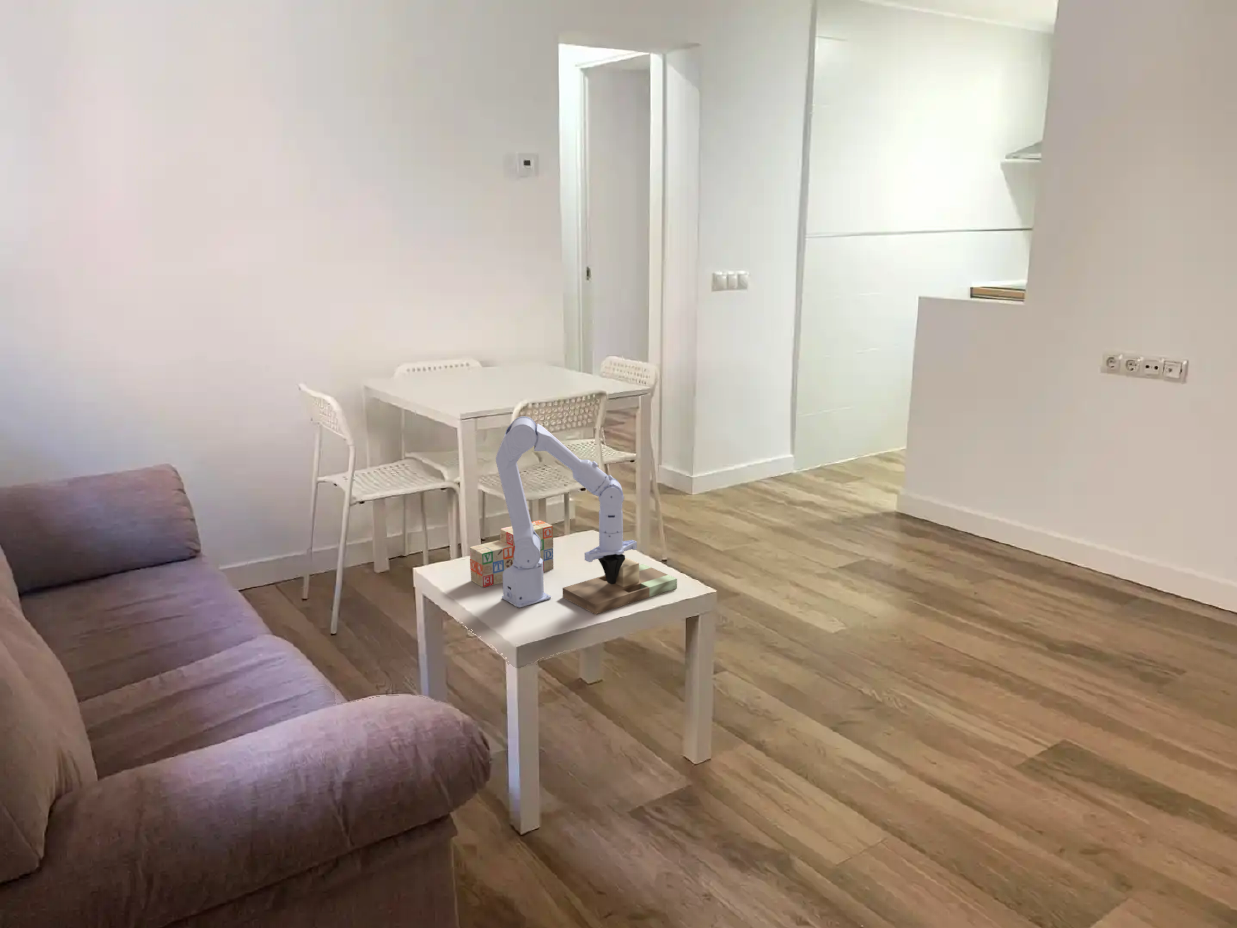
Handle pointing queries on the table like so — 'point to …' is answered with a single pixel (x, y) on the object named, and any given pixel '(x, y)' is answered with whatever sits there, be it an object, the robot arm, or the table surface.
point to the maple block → (628, 573)
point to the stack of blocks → (506, 555)
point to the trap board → (618, 590)
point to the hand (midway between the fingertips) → (611, 582)
